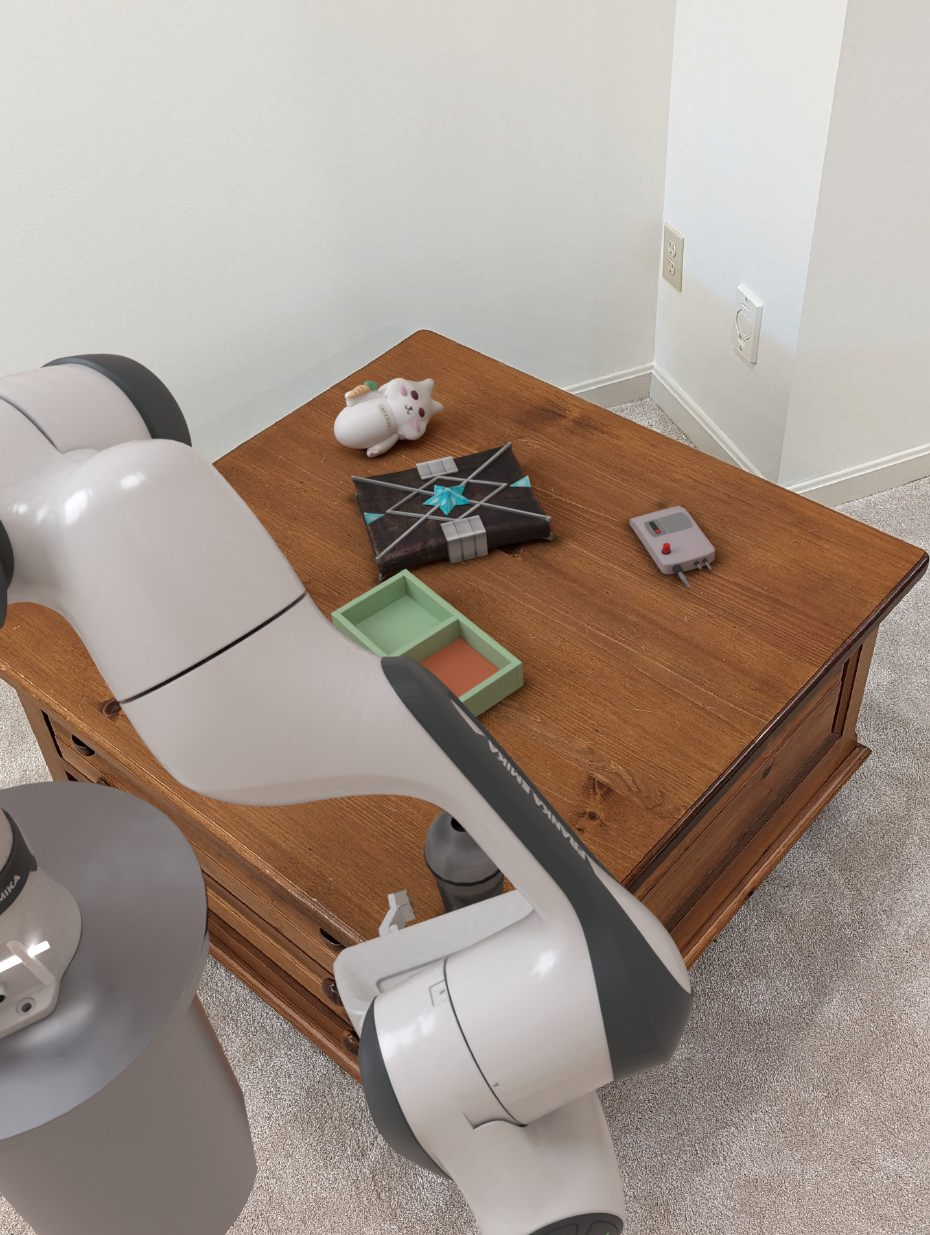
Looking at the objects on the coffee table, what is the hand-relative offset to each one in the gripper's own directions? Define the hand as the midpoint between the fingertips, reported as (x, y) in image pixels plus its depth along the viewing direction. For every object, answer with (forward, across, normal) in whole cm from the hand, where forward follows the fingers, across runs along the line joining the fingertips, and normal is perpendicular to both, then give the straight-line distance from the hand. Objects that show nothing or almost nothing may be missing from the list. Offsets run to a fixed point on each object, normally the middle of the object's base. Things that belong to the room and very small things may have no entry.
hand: (460, 876), depth 89 cm
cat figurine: (+86, -7, +2) cm, 87 cm away
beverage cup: (+13, +1, +18) cm, 22 cm away
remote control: (+55, -34, +13) cm, 66 cm away
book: (+68, -10, +7) cm, 69 cm away
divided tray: (+45, -2, +11) cm, 47 cm away
